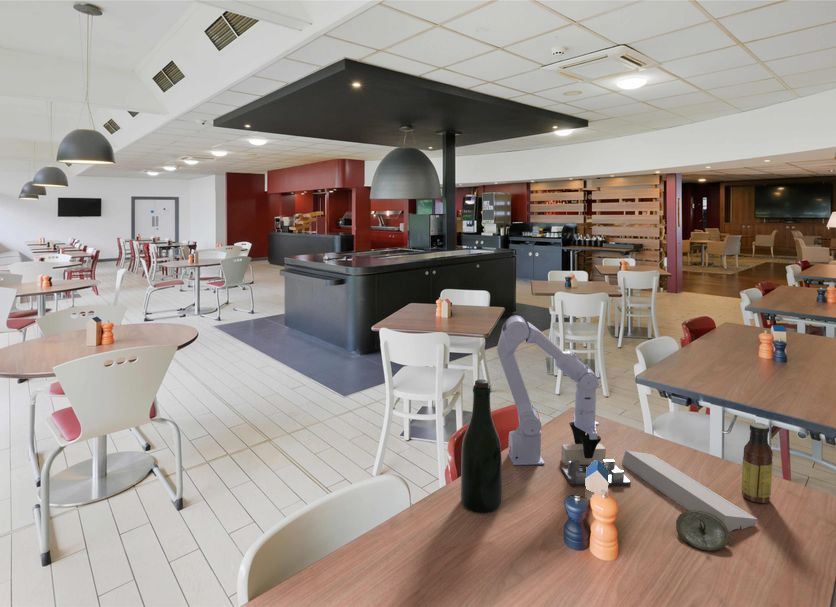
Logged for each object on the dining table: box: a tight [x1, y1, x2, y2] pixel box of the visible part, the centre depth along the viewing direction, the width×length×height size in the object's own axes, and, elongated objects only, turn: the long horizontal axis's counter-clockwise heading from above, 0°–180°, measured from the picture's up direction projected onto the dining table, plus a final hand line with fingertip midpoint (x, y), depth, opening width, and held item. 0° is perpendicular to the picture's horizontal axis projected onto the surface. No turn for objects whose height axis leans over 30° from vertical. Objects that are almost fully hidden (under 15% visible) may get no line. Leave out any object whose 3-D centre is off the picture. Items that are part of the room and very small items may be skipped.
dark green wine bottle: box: [460, 379, 503, 514], centre depth 122 cm, size 10×10×33 cm
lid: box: [675, 510, 730, 552], centre depth 109 cm, size 10×10×5 cm
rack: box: [561, 459, 632, 488], centre depth 136 cm, size 16×9×4 cm, turn 91°
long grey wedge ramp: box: [621, 450, 758, 533], centre depth 129 cm, size 34×5×10 cm
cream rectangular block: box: [560, 442, 607, 466], centre depth 145 cm, size 12×4×5 cm, turn 92°
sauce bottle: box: [741, 421, 774, 504], centre depth 124 cm, size 6×6×20 cm
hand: (583, 451), depth 145 cm, fingers open, 7 cm apart
